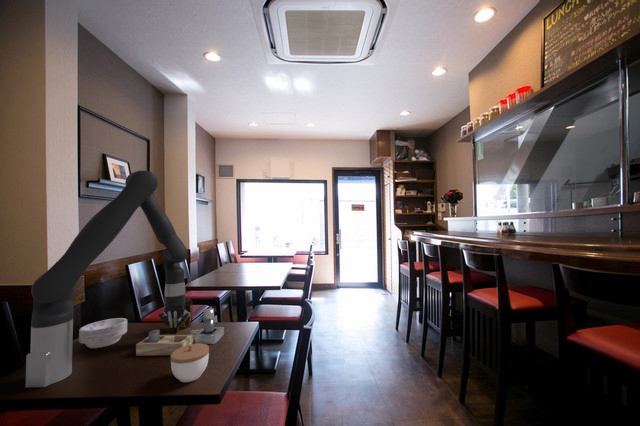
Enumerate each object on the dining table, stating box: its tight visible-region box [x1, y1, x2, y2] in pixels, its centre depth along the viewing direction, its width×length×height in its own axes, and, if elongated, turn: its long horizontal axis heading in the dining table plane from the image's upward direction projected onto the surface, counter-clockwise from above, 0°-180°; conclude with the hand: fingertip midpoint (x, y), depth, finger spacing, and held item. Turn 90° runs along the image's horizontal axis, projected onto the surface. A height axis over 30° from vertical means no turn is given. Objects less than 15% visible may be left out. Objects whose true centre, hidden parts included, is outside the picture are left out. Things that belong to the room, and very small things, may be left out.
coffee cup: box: [179, 297, 194, 331], centre depth 120 cm, size 9×8×13 cm
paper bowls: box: [78, 317, 128, 349], centre depth 107 cm, size 15×15×8 cm
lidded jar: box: [170, 344, 210, 383], centre depth 81 cm, size 11×11×9 cm
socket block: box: [193, 326, 225, 345], centre depth 107 cm, size 9×9×3 cm
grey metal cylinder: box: [202, 307, 215, 334], centre depth 108 cm, size 4×4×12 cm
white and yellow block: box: [176, 329, 200, 335], centre depth 108 cm, size 4×8×3 cm, turn 89°
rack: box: [135, 329, 193, 357], centre depth 99 cm, size 8×17×7 cm, turn 89°
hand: (174, 335), depth 108 cm, fingers closed
